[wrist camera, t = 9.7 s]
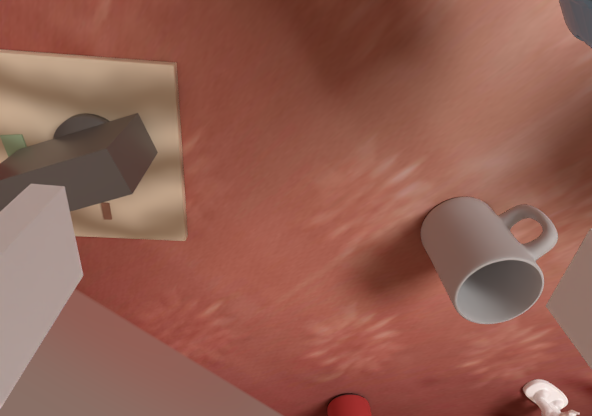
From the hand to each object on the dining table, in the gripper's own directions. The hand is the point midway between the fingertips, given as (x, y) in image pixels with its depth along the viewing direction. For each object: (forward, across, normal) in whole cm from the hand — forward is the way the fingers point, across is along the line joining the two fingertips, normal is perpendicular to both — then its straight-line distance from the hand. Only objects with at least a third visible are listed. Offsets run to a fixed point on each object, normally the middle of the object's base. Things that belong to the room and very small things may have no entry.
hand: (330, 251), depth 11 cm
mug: (+31, +22, -18) cm, 42 cm away
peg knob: (+29, -20, -12) cm, 37 cm away
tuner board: (+30, -20, -13) cm, 39 cm away
